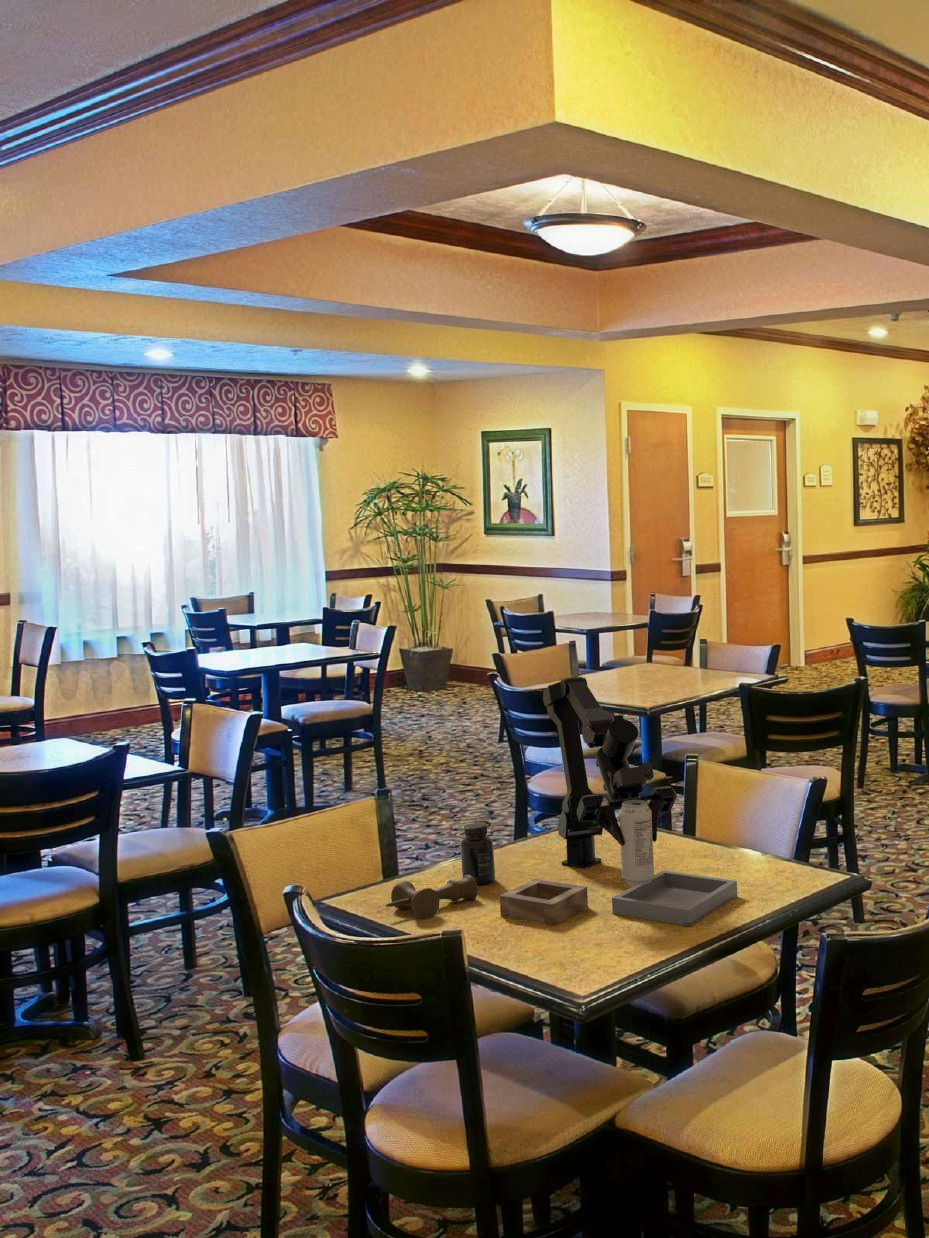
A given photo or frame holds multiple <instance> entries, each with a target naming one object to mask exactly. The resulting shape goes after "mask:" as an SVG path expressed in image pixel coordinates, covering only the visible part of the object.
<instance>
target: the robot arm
mask: <svg viewBox="0 0 929 1238" xmlns="http://www.w3.org/2000/svg"><path fill="white" fill-rule="evenodd" d="M542 693H543V694H542V701H543V704H544V707H546V711H547V715H548V717H549V718H550V719H551V721H553V723H555V725H556V727H557V733H558V739H559V740H558V741H559V746H560V752H561V760H562V766H563V772H564V778H565V783H566V784H565V785H566V794H565V796H564V799H563V801H562V804H561V810H562V811H561V814H560V817H559V819H558V822H557V832H558V835H559V837H561V838H562V839H564V840H565V841H566V845H565V848H566V859H565V860H563V861H561V865H564V866H572V867H576V868H581V869H582V868H584V869H587V868H589V867H591V866H594V865H596V864H598V863H600V862H602V858H600V857H596V846H595V845H596V844H595V843H596V842H595V836H602V835H603V831H604V830H605V831H606V832H607V833H609V834H610V835H611V837H613V838H614V840H616V842H617V843H618V844H619V845H620V847H621V846H624V844H625V842H624V838H623V834H622V832H621V829H620V823H619V822H618V820H617V817H616V811H617V810H619V811H620V809H621V807H622V802H624V801H628V800H643V801H647V802H648V806H649V808H650V810H651V814H652V837H653V842H654V843H655V842H657V840H658V838H657V837H658V817H659V816H660V815H661V814H667V813H669V812H672V809H673V807H674V804H675V802H676V800H677V798H678V795H677V793H676V790H675V789H674V787H673V786H670V785H666V786H657V787H653V788H652V790H651V791H650V792H651V793H650V795H641V796H640V793H642V792H643V790H644V789H643V785H645V784H647V781H651V780H653V779H654V776H655V774H654V769H653V767H652V764H651V762H642V763H640V764H639V765H638V766H636V767H635V766H634V767H630V765H629V761H628V759H627V758H628V757H630V755H631V754H632V751H633V749H634V746H635V744H636V741H637V739H638V736H639V728H638V726H636V725H635V724H634V723H633V722H631V721H630V720H627V719H625V718H624V715H623V714H618V715H615V714H614V713H613V712H611V711H608V710H605V709H603V708H602V706H601V705H600V703H599V701H598V700H597V698H596V697H595V695H594V694H593V692H592V691H591V689H590V688H589V686H588V681H587V679H586V677H583V676H574V677H565V678H564V679H561V680H560V681H558V682H555V683H553V684H548V685H547V687H546V688H545V689H544V690H543V692H542ZM579 720H580V721H581V722H582V729H581V731H580V726H579ZM581 735H582V738H581ZM582 740H583V742H584V744H586V746H587V747H588V748H589V749H594V748H595V749H597V748H599V749H598V750H597V752H596V753H595V759H596V760H595V765H596V767H598V769H599V772H600V775H601V778H602V780H603V785H602V789H603V791H604V792H606V793H607V796H608V798H607V797H606V798H604V797H603V794H601V793H594V792H593V791H592V789H591V788H589V783H588V781H589V780H588V776H587V769H586V763H585V757H584V750H583V743H582Z"/></svg>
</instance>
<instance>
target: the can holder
mask: <svg viewBox="0 0 929 1238" xmlns="http://www.w3.org/2000/svg"><path fill="white" fill-rule="evenodd" d="M588 898H589V897H588V886H582V885H577V884H571V883H564V882H558V881H552V880H544V879H538V878H534V879H532V880H529V881H527V882H526V883H523V884H521V885H518V886H516V887H515V888H513V889H511V890H508V891H506V892H504V893H502V894H500V895H499V907H500V908H499V909H500V911H499V912H500V917H504V918H508V917H509V919H514V918H515V920H519V921H525V920H527V921H526V922H530V923H531V921H532V923H537V924H540V925H548V926H552V927H555V926H556V925H558V924H560V923H561V922H564V921H566V920H567V919H569V918H572V917H573V916H574V915H577V914H578V913H580V912H582V911H584V910H586V909H588V908H589V899H588Z"/></svg>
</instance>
